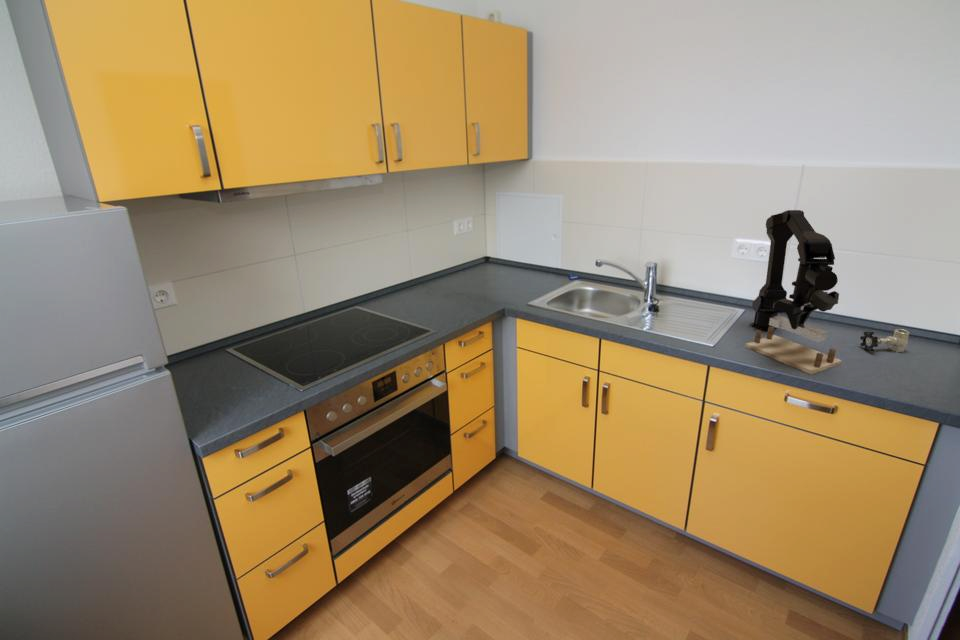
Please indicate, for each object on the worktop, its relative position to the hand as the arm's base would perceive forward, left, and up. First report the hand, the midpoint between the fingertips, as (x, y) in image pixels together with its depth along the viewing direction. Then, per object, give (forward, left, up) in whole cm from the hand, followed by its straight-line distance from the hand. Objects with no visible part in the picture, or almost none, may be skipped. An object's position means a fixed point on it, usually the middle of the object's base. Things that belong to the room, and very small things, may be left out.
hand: (796, 328), depth 154 cm
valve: (+12, +28, -10) cm, 32 cm away
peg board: (0, 0, -9) cm, 9 cm away
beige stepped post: (0, 0, -1) cm, 1 cm away
